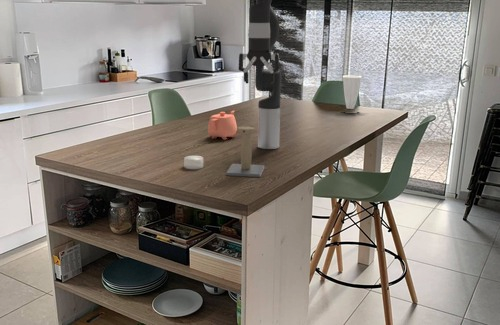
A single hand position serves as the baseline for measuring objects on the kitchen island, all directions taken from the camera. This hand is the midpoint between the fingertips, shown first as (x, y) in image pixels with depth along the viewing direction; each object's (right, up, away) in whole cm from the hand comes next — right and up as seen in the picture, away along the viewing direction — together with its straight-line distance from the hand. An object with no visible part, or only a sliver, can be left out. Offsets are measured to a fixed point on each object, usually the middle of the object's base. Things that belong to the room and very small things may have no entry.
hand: (258, 83), depth 182 cm
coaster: (-5, -31, +4) cm, 32 cm away
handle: (-5, -30, +3) cm, 31 cm away
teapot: (-16, -16, +59) cm, 63 cm away
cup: (+58, +2, +130) cm, 142 cm away
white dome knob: (-24, -30, +9) cm, 39 cm away
